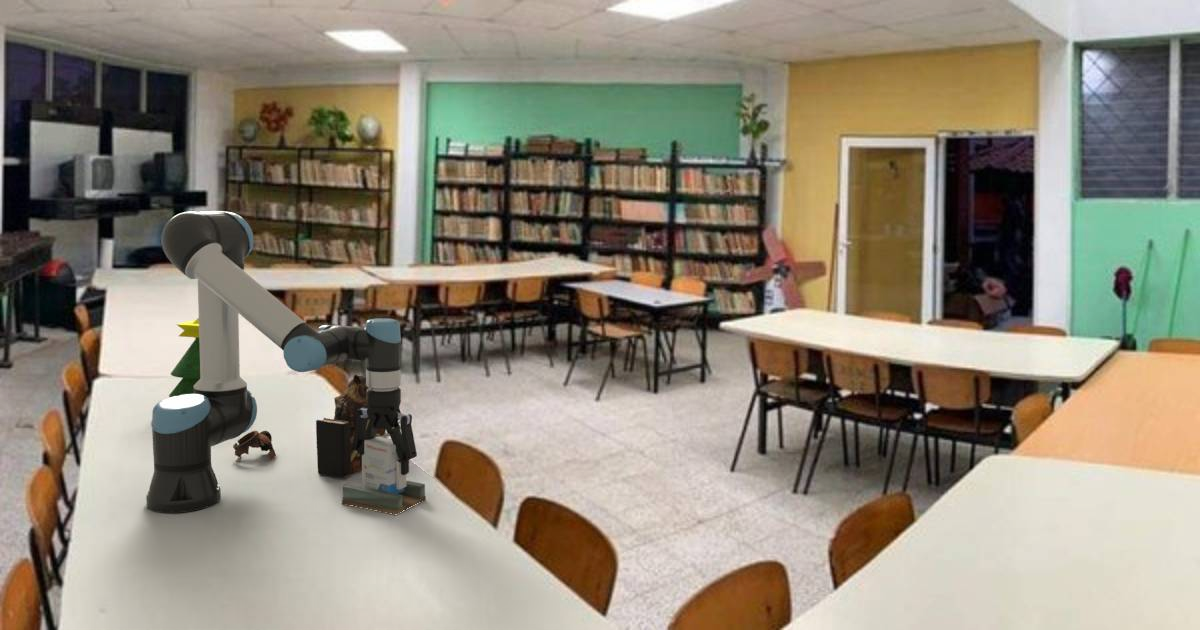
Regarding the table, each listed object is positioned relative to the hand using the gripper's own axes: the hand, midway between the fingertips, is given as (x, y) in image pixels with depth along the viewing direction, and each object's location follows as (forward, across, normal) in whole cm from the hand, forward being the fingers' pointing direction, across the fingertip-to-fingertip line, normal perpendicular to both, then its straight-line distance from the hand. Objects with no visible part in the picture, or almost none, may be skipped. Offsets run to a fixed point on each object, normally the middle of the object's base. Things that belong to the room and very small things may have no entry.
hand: (384, 484), depth 204 cm
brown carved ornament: (+4, +50, -12) cm, 52 cm away
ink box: (+2, 0, 0) cm, 2 cm away
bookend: (+4, +22, -15) cm, 27 cm away
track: (+4, 0, 0) cm, 4 cm away
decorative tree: (+4, +98, -38) cm, 105 cm away
